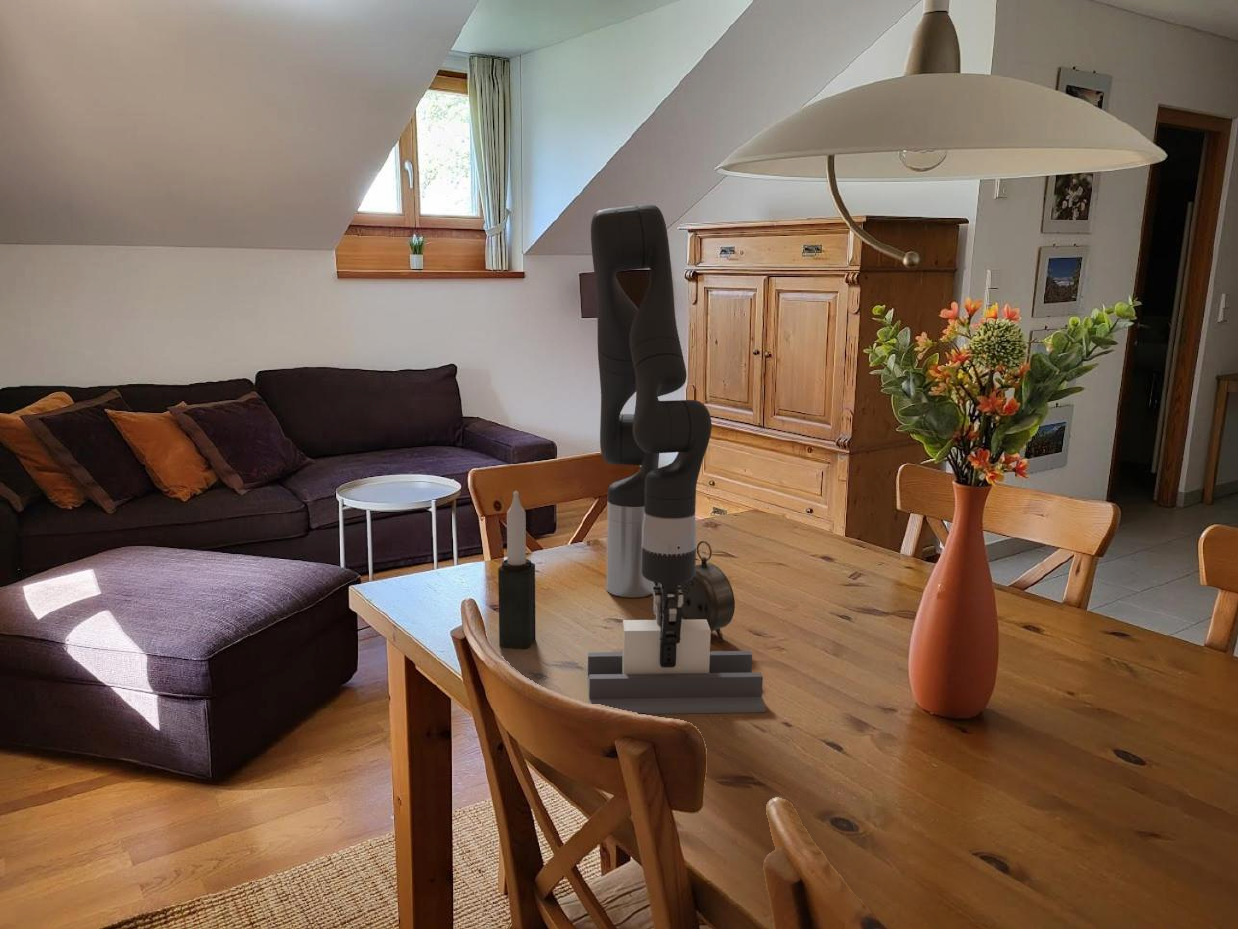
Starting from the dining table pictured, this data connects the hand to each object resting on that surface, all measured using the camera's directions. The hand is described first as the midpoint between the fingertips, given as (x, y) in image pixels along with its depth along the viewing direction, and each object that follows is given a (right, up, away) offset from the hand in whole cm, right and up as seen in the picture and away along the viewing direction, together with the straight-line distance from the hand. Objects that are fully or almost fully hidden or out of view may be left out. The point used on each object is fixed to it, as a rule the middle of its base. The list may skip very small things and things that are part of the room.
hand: (665, 659), depth 131 cm
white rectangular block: (0, -3, +1) cm, 3 cm away
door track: (+1, -5, +1) cm, 5 cm away
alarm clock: (+7, -1, +21) cm, 22 cm away
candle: (-23, -1, +17) cm, 29 cm away
